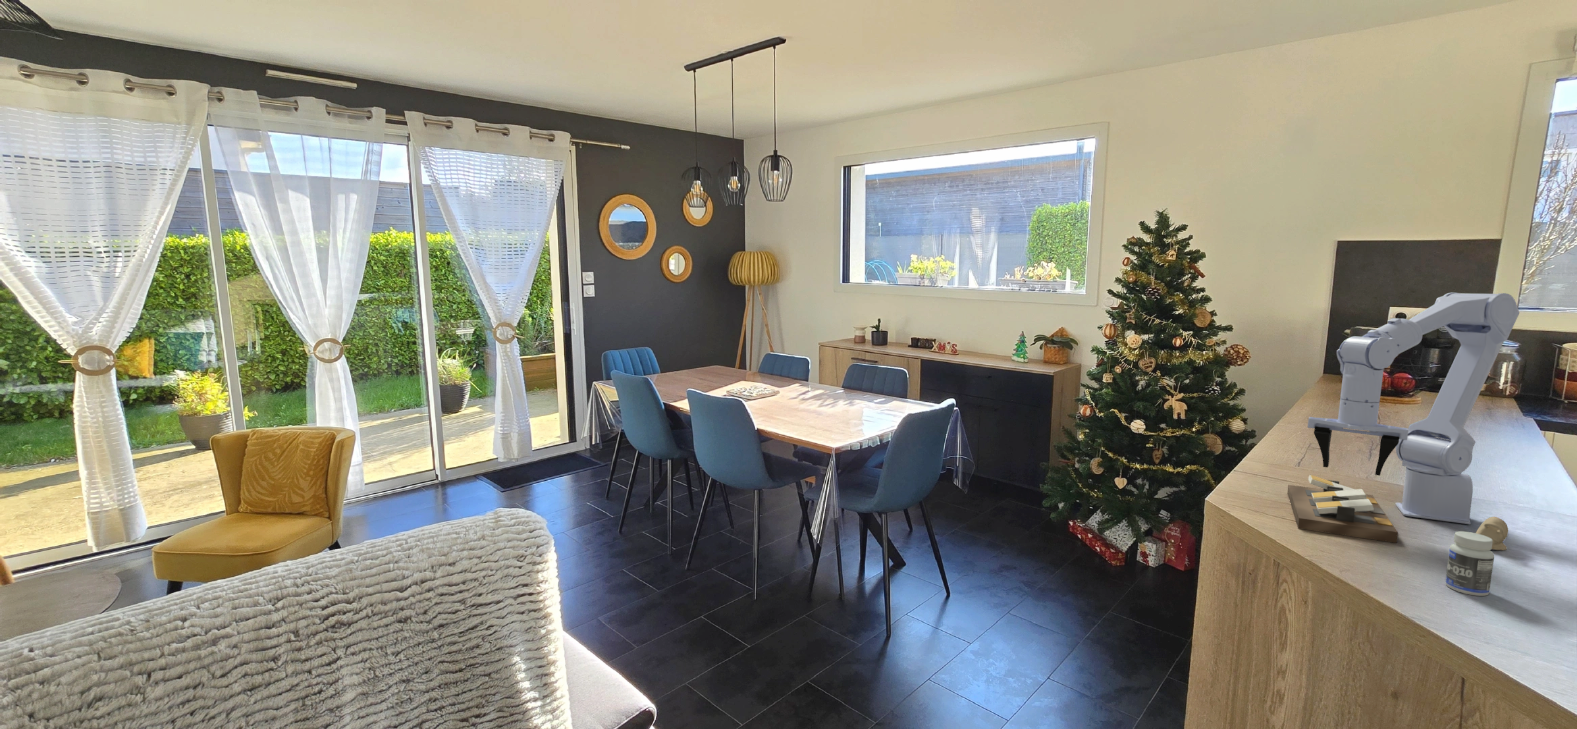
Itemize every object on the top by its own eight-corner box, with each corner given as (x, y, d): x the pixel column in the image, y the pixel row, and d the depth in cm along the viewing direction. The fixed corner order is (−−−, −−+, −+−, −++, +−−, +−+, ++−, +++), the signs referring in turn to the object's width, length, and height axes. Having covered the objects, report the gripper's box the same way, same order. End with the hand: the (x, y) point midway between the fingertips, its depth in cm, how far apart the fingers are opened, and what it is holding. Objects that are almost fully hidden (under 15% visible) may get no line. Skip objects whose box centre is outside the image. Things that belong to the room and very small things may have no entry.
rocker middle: (1363, 493, 132) (1361, 488, 132) (1366, 499, 129) (1365, 493, 129) (1312, 497, 136) (1311, 492, 136) (1314, 503, 133) (1313, 497, 133)
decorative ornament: (1508, 544, 118) (1512, 515, 118) (1502, 557, 113) (1506, 526, 112) (1475, 537, 121) (1479, 509, 121) (1468, 549, 116) (1472, 519, 116)
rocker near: (1369, 504, 126) (1368, 498, 126) (1373, 510, 123) (1372, 504, 123) (1316, 507, 130) (1315, 502, 130) (1319, 513, 127) (1317, 508, 127)
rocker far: (1354, 494, 138) (1356, 489, 138) (1357, 499, 135) (1360, 494, 135) (1308, 478, 142) (1310, 474, 142) (1310, 483, 139) (1312, 478, 138)
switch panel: (1371, 504, 139) (1373, 482, 139) (1396, 542, 119) (1399, 517, 119) (1287, 493, 147) (1289, 473, 146) (1298, 528, 127) (1300, 504, 126)
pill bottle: (1436, 583, 104) (1442, 530, 103) (1464, 581, 104) (1470, 529, 103) (1469, 597, 99) (1476, 542, 98) (1499, 596, 99) (1505, 541, 98)
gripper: (1309, 397, 130) (1301, 466, 131) (1411, 408, 120) (1401, 482, 121) (1313, 393, 135) (1305, 460, 136) (1411, 403, 125) (1402, 474, 126)
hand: (1351, 470), depth 129 cm, fingers open, 7 cm apart
